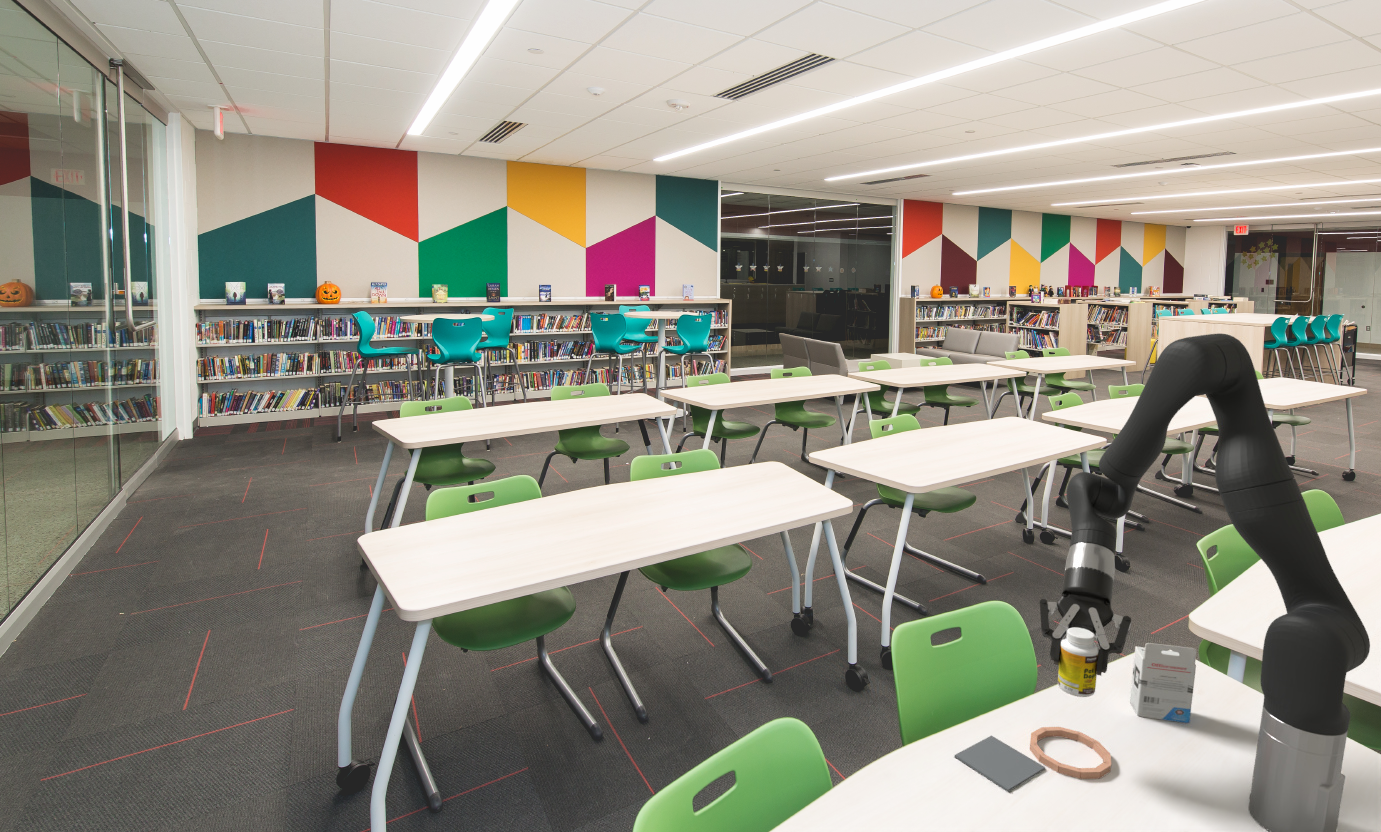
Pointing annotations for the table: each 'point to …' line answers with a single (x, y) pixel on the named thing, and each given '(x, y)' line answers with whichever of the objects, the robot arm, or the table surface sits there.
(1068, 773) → the faceted open ring
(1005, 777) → the mat
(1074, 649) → the supplement bottle
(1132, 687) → the ink box
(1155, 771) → the table surface
